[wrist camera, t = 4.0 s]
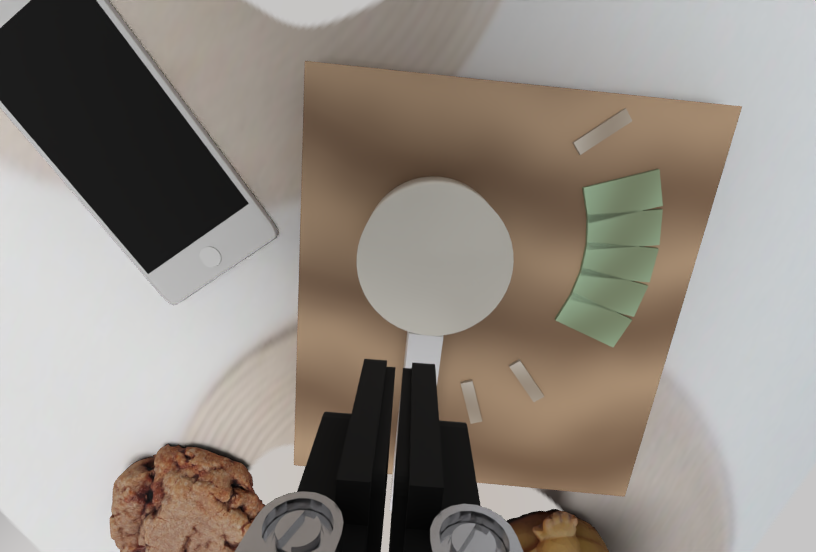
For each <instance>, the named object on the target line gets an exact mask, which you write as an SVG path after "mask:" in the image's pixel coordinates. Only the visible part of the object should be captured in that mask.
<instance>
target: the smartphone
mask: <svg viewBox="0 0 816 552" xmlns="http://www.w3.org/2000/svg"><path fill="white" fill-rule="evenodd" d="M0 108H1V109H2V110H3V112H4V113H5V114H6V115H7V116H8V117H9V119H10V120H11V121H12V122H13V123H14V124H15V126H16V127H17V128H18V129H19V130H20V131H21V133H22V134H23V135H24V136H25V137H26V138H27V140H28V141H29V142H30V143H31V144H32V145H33V147H34V148H35V149H36V150H37V151H38V152H39V154H40V155H41V156H42V157H43V158H44V159H45V161H46V162H47V163H48V164H49V165H50V166H51V168H52V169H53V170H54V171H55V172H56V173H57V175H58V176H59V177H60V178H61V179H62V180H63V182H64V183H65V184H66V185H67V186H68V188H69V189H70V190H71V191H72V192H73V193H74V195H75V196H76V197H77V198H78V199H79V200H80V202H81V203H82V204H83V205H84V206H85V207H86V209H87V210H88V211H89V212H90V213H91V214H92V216H93V217H94V218H95V219H96V220H97V221H98V223H99V224H100V225H101V226H102V227H103V228H104V230H105V231H106V232H107V233H108V234H109V235H110V237H111V238H112V239H113V240H114V241H115V242H116V244H117V245H118V246H119V247H120V248H121V249H122V251H123V252H124V253H125V254H126V255H127V256H128V258H129V259H130V260H131V261H132V262H133V263H134V265H135V266H136V267H137V268H138V269H139V270H140V272H141V273H142V274H143V275H144V276H145V277H146V279H147V280H148V281H149V282H150V283H151V284H152V286H153V287H154V288H155V289H156V290H157V291H158V293H159V294H160V295H161V296H162V297H163V298H164V299H165V300H166V301H167V302H168V303H170V304H172V305H176V304H178V303H179V302H181V301H182V300H184V299H185V298H187V297H188V296H190V295H191V294H193V293H194V292H196V291H197V290H199V289H200V288H202V287H203V286H205V285H206V284H208V283H209V282H211V281H212V280H214V279H215V278H217V277H218V276H220V275H221V274H222V273H224V272H225V271H227V270H228V269H230V268H231V267H233V266H234V265H236V264H237V263H239V262H240V261H242V260H243V259H245V258H246V257H248V256H249V255H251V254H252V253H254V252H255V251H257V250H258V249H260V248H261V247H263V246H264V245H266V244H267V243H269V242H270V241H272V240H273V239H274V238H276V237H277V235H278V230H277V228H276V226H275V224H274V222H273V221H272V220H271V218H270V217H269V216H268V214H267V213H266V212H265V210H264V209H263V208H262V206H261V205H260V203H259V202H258V201H257V199H256V198H255V197H254V195H253V194H252V193H251V191H250V190H249V189H248V187H247V186H246V185H245V183H244V182H243V181H242V179H241V178H240V177H239V175H238V174H237V173H236V171H235V170H234V168H233V167H232V166H231V164H230V163H229V162H228V160H227V159H226V158H225V156H224V155H223V154H222V152H221V151H220V150H219V148H218V147H217V146H216V144H215V143H214V142H213V140H212V139H211V138H210V136H209V135H208V134H207V132H206V131H205V129H204V128H203V127H202V125H201V124H200V123H199V121H198V120H197V119H196V117H195V116H194V115H193V113H192V112H191V111H190V109H189V108H188V107H187V105H186V104H185V103H184V101H183V100H182V99H181V97H180V96H179V95H178V93H177V92H176V90H175V89H174V88H173V86H172V85H171V84H170V82H169V81H168V80H167V78H166V77H165V76H164V74H163V73H162V72H161V70H160V69H159V68H158V66H157V65H156V64H155V62H154V61H153V60H152V58H151V57H150V55H149V54H148V53H147V51H146V50H145V49H144V47H143V46H142V45H141V43H140V42H139V41H138V39H137V38H136V37H135V35H134V34H133V33H132V31H131V30H130V29H129V27H128V26H127V25H126V23H125V22H124V21H123V19H122V18H121V16H120V15H119V14H118V12H117V11H116V10H115V8H114V7H113V6H112V4H111V3H110V2H109V0H0Z"/></svg>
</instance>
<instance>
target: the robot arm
mask: <svg viewBox="0 0 816 552" xmlns="http://www.w3.org/2000/svg"><path fill="white" fill-rule="evenodd" d="M395 369H396V367H387V360H375V359H364V362H363V366H362V371H361V375H360V379H359V384H358V388H357V392H356V397H355V401H354V405H353V409H352V414H351V413H338V412H324V414H323V416H322V419H321V422H320V425H319V428H318V431H317V434H316V437H315V440H314V443H313V446H312V449H311V452H310V455H309V458H308V461H307V464H306V467H305V470H304V473H303V476H302V479H301V482H300V485H299V488H298V491H297V492H294V493H288V494H286V495H283V496H281V497H278V498H276V499H274V500H273V501H271V502H270V503H269V504H267V505H266V506H264V508H263V509H262V510H261V511H260V512H259V514H258V515H257V516H256V517H255V519H254V521H253V522H252V524H251V526H250V527H249V529H248V531H247V532H246V534H245V535H244V537H243V539H242V540H241V542H240V544H239V545H238V547H237V548H236V550H235V552H381V541H382V530H383V519H384V508H385V496H386V485H387V474H388V461H389V448H390V435H391V422H392V409H393V395H394V382H395ZM389 552H523V549H522V547H521V545H520V542H519V540H518V537H517V535H516V534H515V532H514V530H513V529H512V527H511V525H510V524H509V523H508V522H507V521H505V519H503V518H502V517H501V516H500V515H498V514H497V513H495V512H493V511H492V510H490V509H487V508H485V507H481V506H480V501H479V495H478V488H477V482H476V476H475V469H474V463H473V457H472V451H471V445H470V439H469V433H468V427H467V424H466V423H465V422H453V421H441V420H439V411H438V397H437V383H436V369H435V364H426V363H413V362H412V368H403V373H402V385H401V397H400V409H399V422H398V434H397V446H396V459H395V471H394V485H393V500H392V514H391V529H390V544H389Z"/></svg>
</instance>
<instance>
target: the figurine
mask: <svg viewBox="0 0 816 552" xmlns="http://www.w3.org/2000/svg"><path fill="white" fill-rule="evenodd" d="M507 522H508V523H509V524H510V525H511V527H512V529H513V530H514V532H515V534H516V535H517V537H518V540H519V542H520V545H521V547H522V549H523V552H609V551H608V549H607V547H606V545H605V543H604V541H603V540H602V538H601V537H600V535H599V534H598V532H597V531H596V529H595V528H594V527H592V525H591V524H589V523H587V522H585V521H583V520H581V519H579V518H577V517H575V515H572V514H570V513H567V512H565V511H559V510H557V509H552V510H549V511H546V512H545V511H537V512H531V513H528V514H525V515H522V516H520V517H518V518H513V519H509V520H507Z"/></svg>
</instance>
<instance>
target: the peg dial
mask: <svg viewBox="0 0 816 552" xmlns="http://www.w3.org/2000/svg"><path fill="white" fill-rule="evenodd" d="M513 263H514V260H513V248H512V242H511V239H510V236H509V233H508V231H507V229H506V227H505V224H504V223H503V221H502V220H501V218H500V217H499V215H498V214H497V213H496V212H495V211H494V210H493V208H492V207H491V206H490V205H489V204H488V203H487V202H486V201H485V200H484V198H483V197H482V196H481V195H480V194H479V193H477V192H476V191H475V190H474V189H472V188H471V187H469V186H468V185H466V184H464V183H461V182H459V181H457V180H453V179H450V178H445V177H433V176H431V177H421V178H417V179H413V180H410V181H408V182H405V183H403V184H401V185H399V186H397V187H396V188H394V189H393V190H392V191H390V192H389V193H388V194H387V195H386V196H385V197H384V198H383V199H382V200H381V201H380V202H379V203H378V205H377V206H376V208H375V209H374V211H373V213H372V215H371V216H370V218H369V220H368V222H367V224H366V226H365V228H364V230H363V233H362V235H361V238H360V241H359V245H358V250H357V273H358V278H359V281H360V285H361V287H362V290H363V292H364V294H365V296H366V298H367V299H368V301H369V303H370V304H371V305H372V307H373V308H374V309H375V310H376V311H377V312H378V313H379V314H380V315H381V316H382V317H383V318H384V319H386V320H387V321H388V322H390V323H391V324H393V325H395V326H397V327H398V328H401V329H403V330H405V331H407V339H406V348H405V358H404V367H403V368H412V362H413V363H426V364H435V369H436V383H437V381H438V374H439V366H440V359H441V351H442V344H443V335H448V334H453V333H457V332H460V331H463V330H466V329H468V328H470V327H472V326H474V325H475V324H477V323H479V322H480V321H482V320H483V319H484V318H485V317H487V316H488V315H489V314H490V313H491V312H492V311H493V310H494V309H495V308H496V307H497V305H498V304H499V303H500V301H501V300H502V298H503V296H504V295H505V293H506V291H507V288H508V286H509V283H510V280H511V276H512V272H513ZM400 397H401V395H400ZM399 409H400V404H399ZM398 422H399V414H398ZM397 434H398V423H397V432H396V442H395V451H394V461H393V472H392V486H391V499H390V511H392V500H393V485H394V471H395V459H396V446H397Z"/></svg>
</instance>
